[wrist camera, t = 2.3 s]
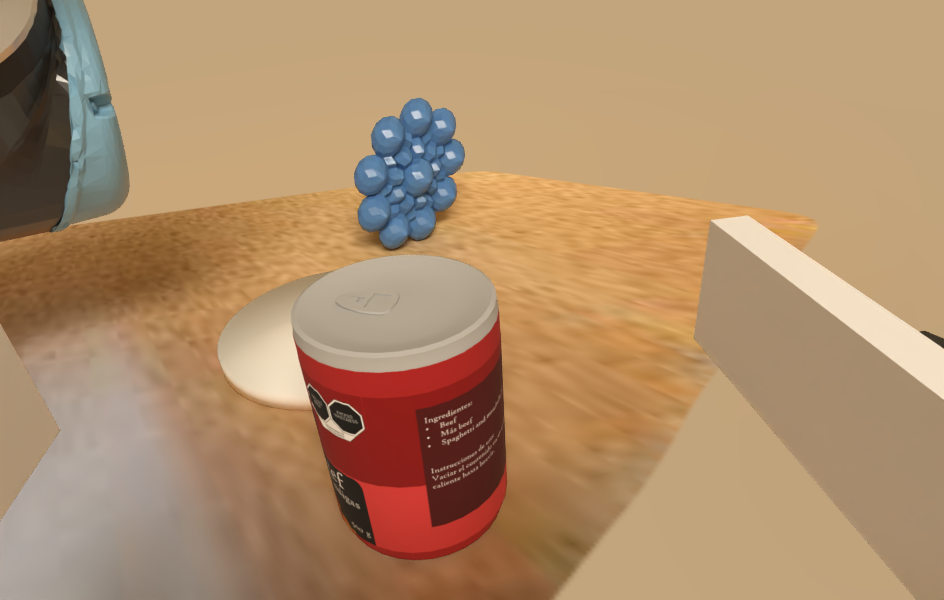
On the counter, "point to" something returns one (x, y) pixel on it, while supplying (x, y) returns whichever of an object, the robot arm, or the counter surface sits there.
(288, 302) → the plate
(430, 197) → the grapes
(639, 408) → the counter surface
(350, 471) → the canned food
